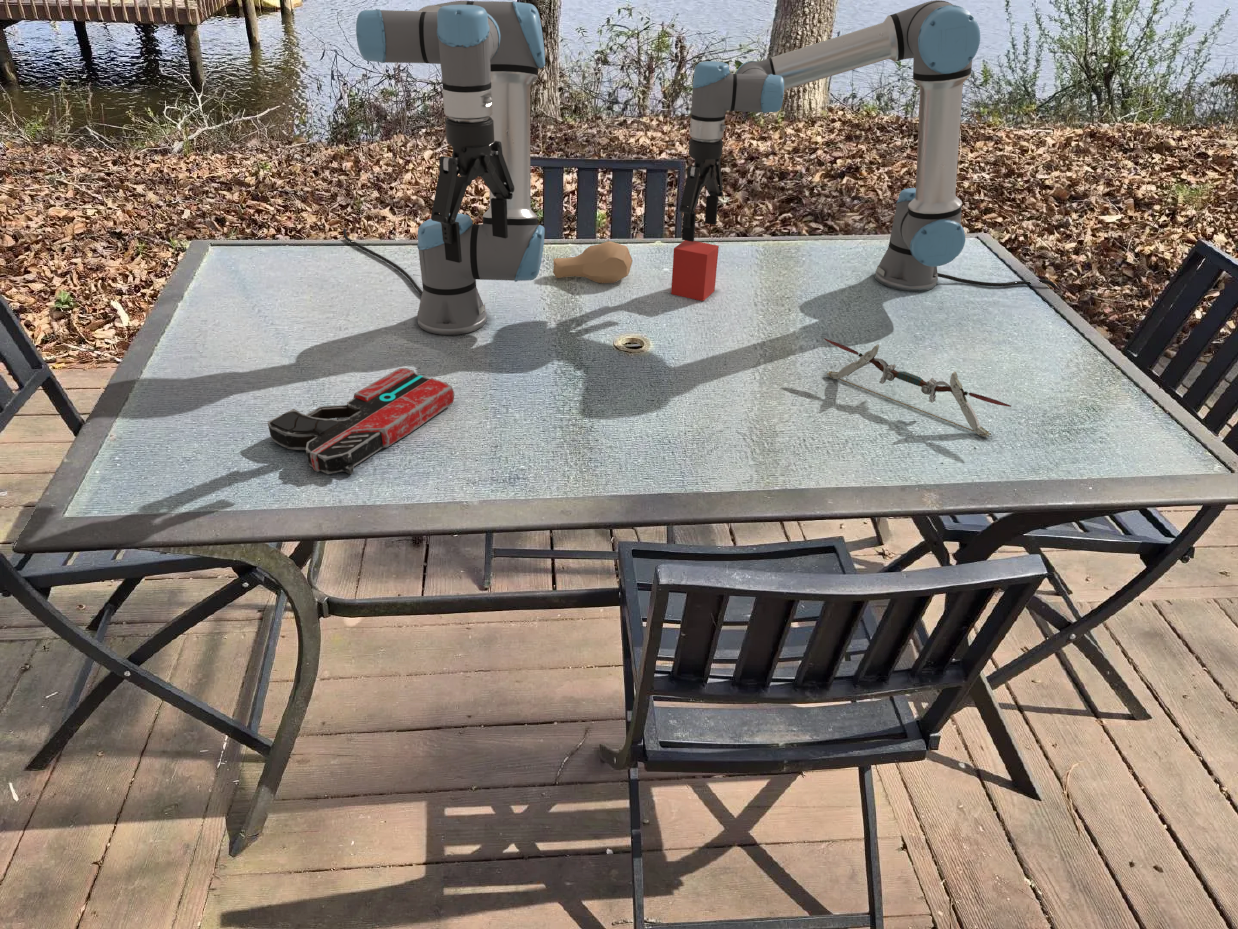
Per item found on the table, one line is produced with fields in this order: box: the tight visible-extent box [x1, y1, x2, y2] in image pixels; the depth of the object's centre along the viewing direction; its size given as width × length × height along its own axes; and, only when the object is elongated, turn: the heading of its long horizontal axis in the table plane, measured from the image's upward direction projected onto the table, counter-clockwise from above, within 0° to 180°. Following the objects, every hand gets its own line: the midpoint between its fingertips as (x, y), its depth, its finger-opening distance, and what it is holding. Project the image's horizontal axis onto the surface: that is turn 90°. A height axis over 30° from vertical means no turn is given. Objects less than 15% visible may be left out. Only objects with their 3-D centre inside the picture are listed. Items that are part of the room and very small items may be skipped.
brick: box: [670, 240, 720, 302], centre depth 211 cm, size 7×8×12 cm
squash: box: [552, 240, 633, 284], centre depth 218 cm, size 11×20×9 cm, turn 90°
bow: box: [822, 337, 1012, 438], centre depth 167 cm, size 39×2×10 cm, turn 47°
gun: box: [266, 367, 456, 475], centre depth 158 cm, size 4×31×19 cm
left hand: (477, 248), depth 149 cm, fingers open, 13 cm apart
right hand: (699, 231), depth 206 cm, fingers open, 13 cm apart
